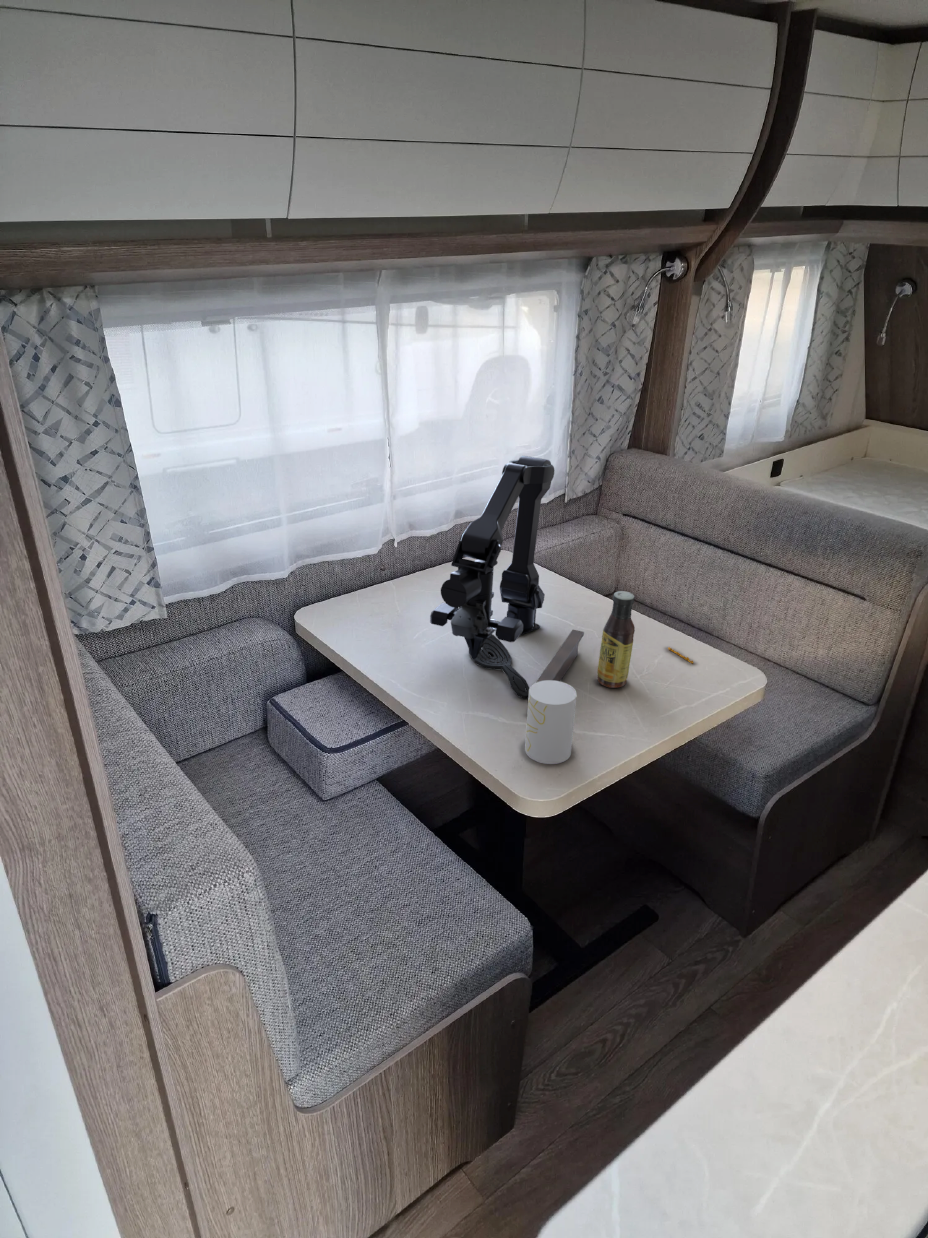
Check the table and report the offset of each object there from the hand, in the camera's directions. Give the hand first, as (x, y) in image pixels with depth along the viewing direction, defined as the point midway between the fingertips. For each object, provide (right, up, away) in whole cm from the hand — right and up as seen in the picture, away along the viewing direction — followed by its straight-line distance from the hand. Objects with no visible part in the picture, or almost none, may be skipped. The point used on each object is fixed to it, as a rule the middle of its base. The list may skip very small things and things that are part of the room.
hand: (474, 658), depth 172 cm
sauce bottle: (+28, -5, -4) cm, 29 cm away
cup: (+13, -15, -27) cm, 33 cm away
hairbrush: (+5, -3, -1) cm, 6 cm away
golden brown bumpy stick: (+45, 0, +7) cm, 46 cm away
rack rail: (+16, -5, -5) cm, 18 cm away
